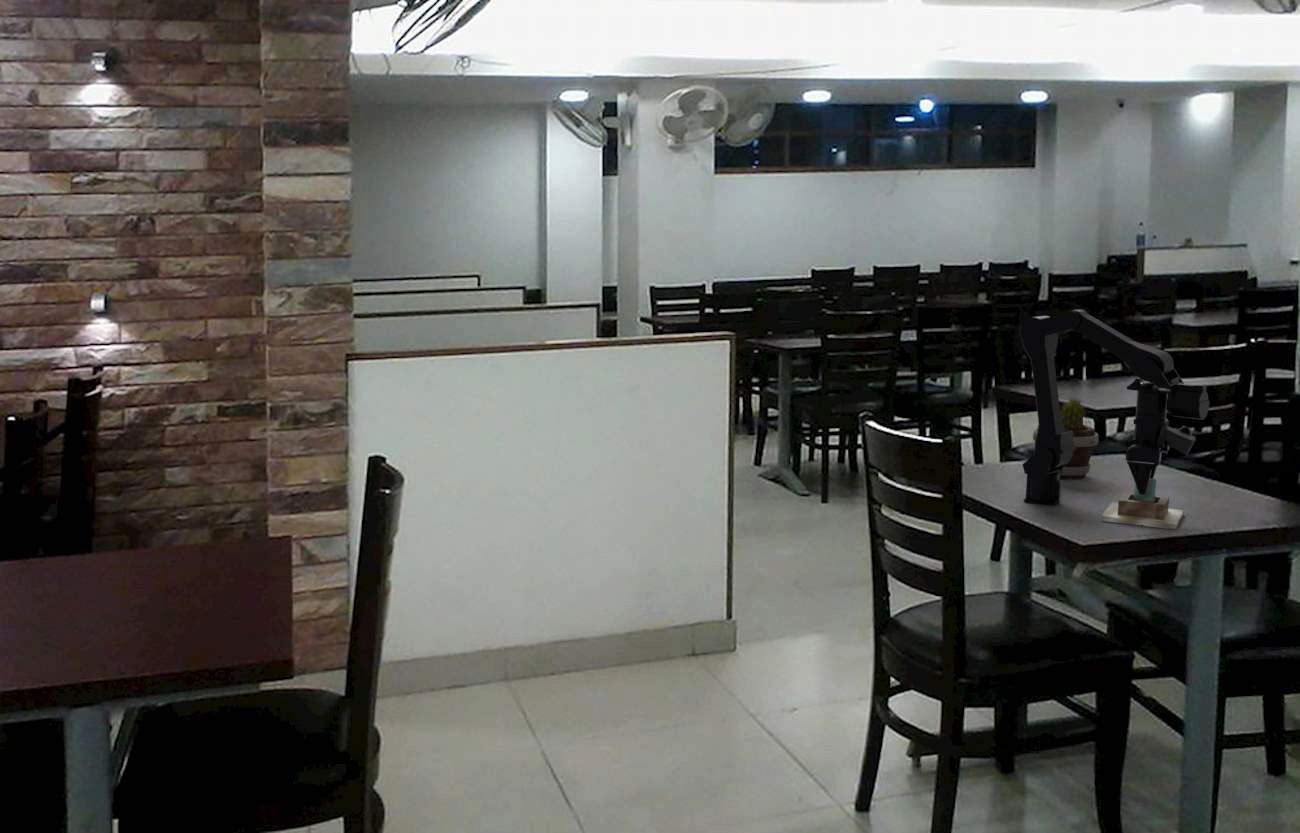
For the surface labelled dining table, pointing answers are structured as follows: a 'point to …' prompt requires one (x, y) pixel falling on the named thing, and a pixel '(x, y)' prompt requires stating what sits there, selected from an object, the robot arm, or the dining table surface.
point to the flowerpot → (1077, 440)
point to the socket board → (1143, 512)
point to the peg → (1149, 494)
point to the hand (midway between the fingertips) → (1145, 490)
